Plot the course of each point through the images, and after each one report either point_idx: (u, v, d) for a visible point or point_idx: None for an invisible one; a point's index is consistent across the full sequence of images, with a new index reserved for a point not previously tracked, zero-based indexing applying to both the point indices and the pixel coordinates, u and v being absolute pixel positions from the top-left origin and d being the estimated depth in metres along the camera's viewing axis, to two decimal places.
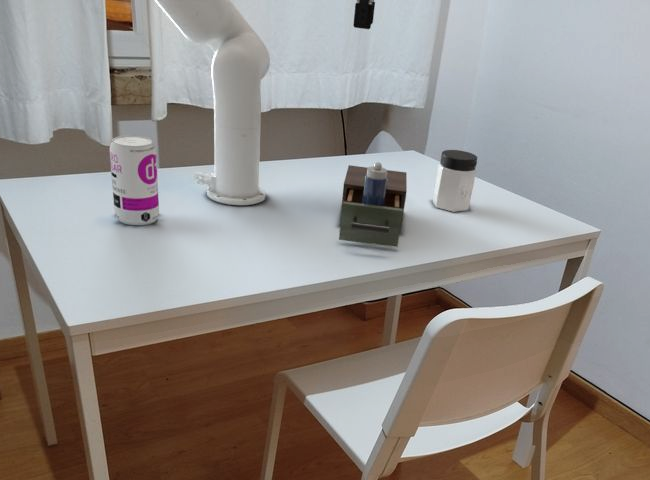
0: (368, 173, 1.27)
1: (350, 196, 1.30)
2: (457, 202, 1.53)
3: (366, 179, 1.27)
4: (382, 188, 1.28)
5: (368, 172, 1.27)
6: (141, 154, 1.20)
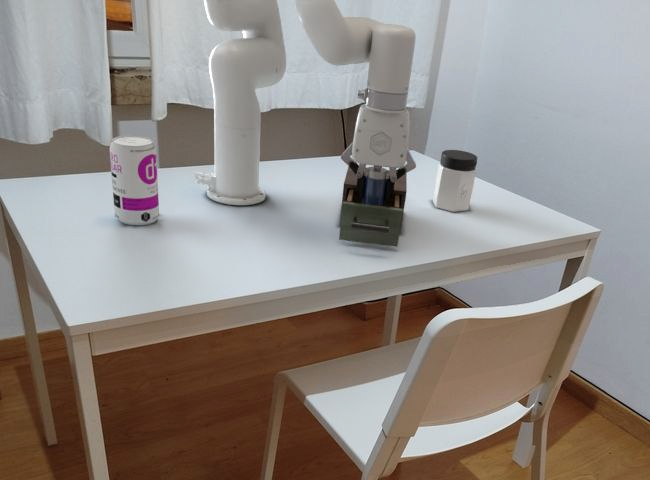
0: (368, 173, 1.27)
1: (350, 196, 1.30)
2: (457, 202, 1.53)
3: (366, 179, 1.27)
4: (382, 188, 1.28)
5: (368, 172, 1.27)
6: (141, 154, 1.20)
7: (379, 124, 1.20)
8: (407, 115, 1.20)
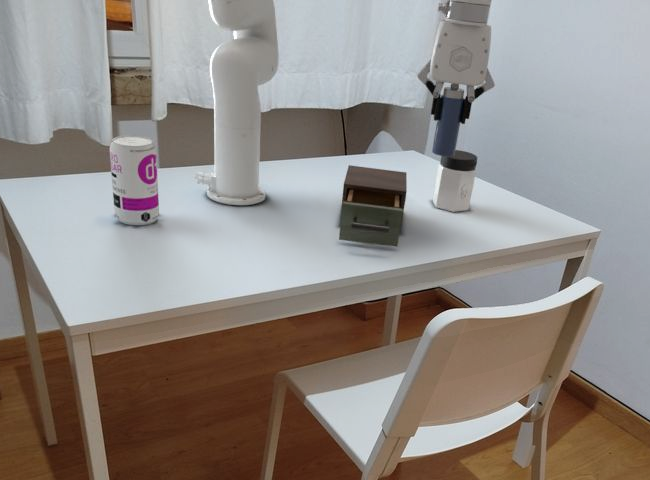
0: (445, 93, 1.24)
1: (350, 196, 1.30)
2: (457, 202, 1.53)
3: (443, 99, 1.24)
4: (459, 108, 1.24)
5: (445, 91, 1.24)
6: (141, 154, 1.20)
7: (460, 38, 1.17)
8: (489, 28, 1.17)
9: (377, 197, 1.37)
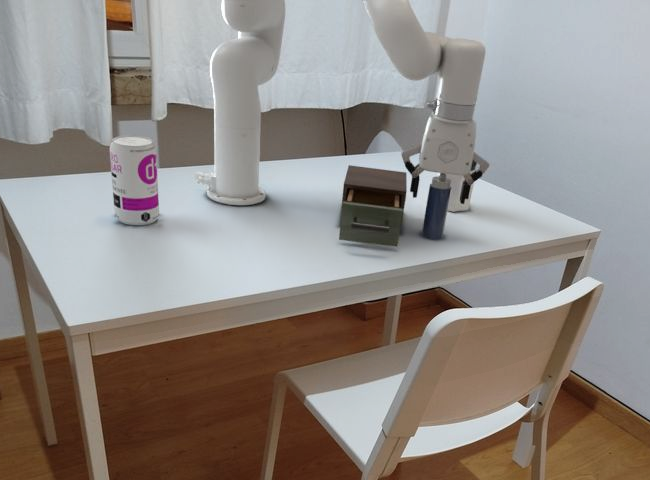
0: (433, 183, 1.33)
1: (350, 196, 1.30)
2: (457, 202, 1.53)
3: (431, 189, 1.33)
4: (447, 197, 1.33)
5: (433, 182, 1.33)
6: (141, 154, 1.20)
7: (447, 134, 1.26)
8: (474, 125, 1.26)
9: (377, 197, 1.37)
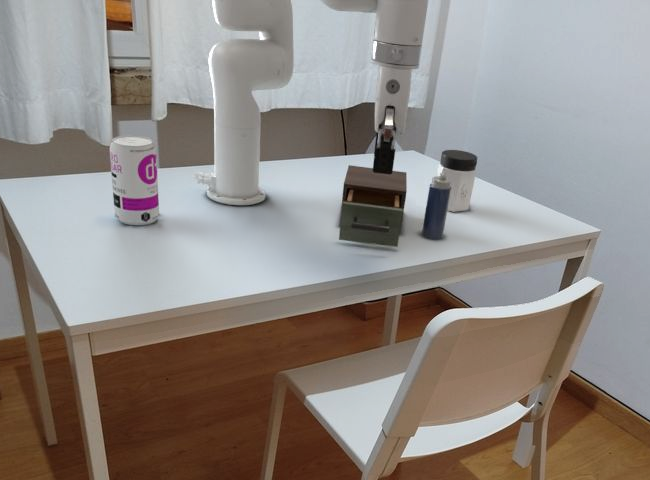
0: (433, 183, 1.33)
1: (350, 196, 1.30)
2: (457, 202, 1.53)
3: (431, 189, 1.33)
4: (447, 197, 1.33)
5: (433, 182, 1.33)
6: (141, 154, 1.20)
7: None
8: None
9: (377, 197, 1.37)
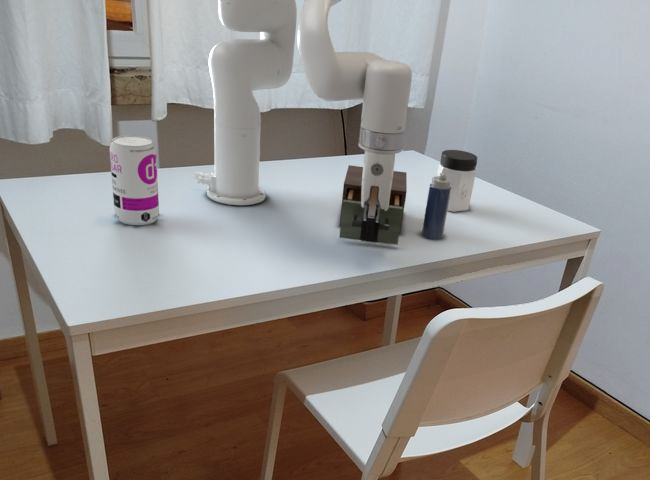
0: (433, 183, 1.33)
1: (350, 194, 1.31)
2: (457, 202, 1.53)
3: (431, 189, 1.33)
4: (447, 197, 1.33)
5: (433, 182, 1.33)
6: (141, 154, 1.20)
7: None
8: None
9: None
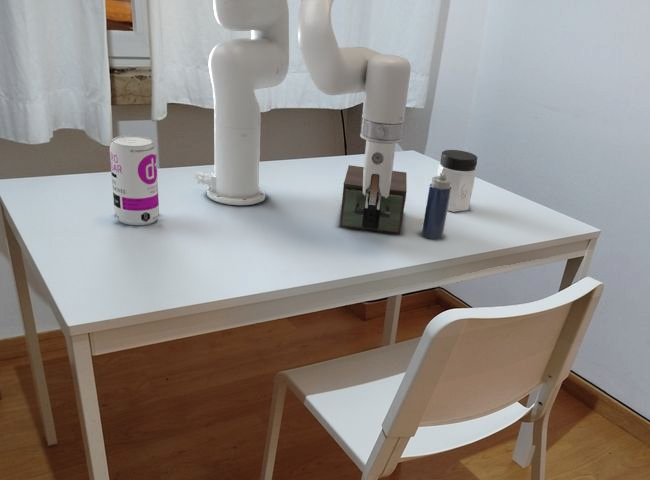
0: (433, 183, 1.33)
1: None
2: (457, 202, 1.53)
3: (431, 189, 1.33)
4: (447, 197, 1.33)
5: (433, 182, 1.33)
6: (141, 154, 1.20)
7: None
8: None
9: None
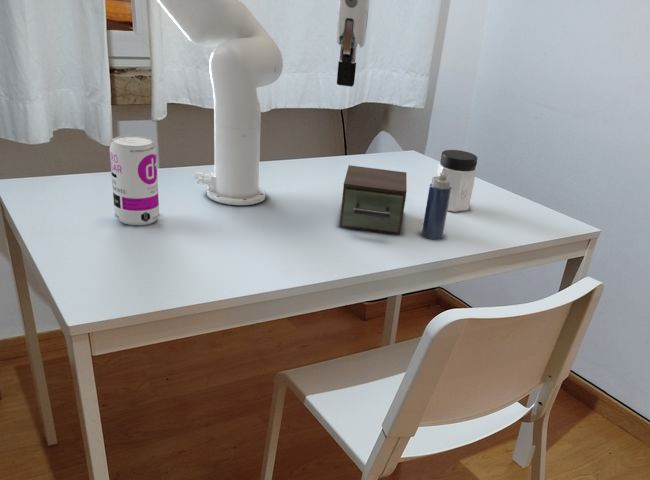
0: (433, 183, 1.33)
1: None
2: (457, 202, 1.53)
3: (431, 189, 1.33)
4: (447, 197, 1.33)
5: (433, 182, 1.33)
6: (141, 154, 1.20)
7: (368, 0, 1.18)
8: None
9: None
